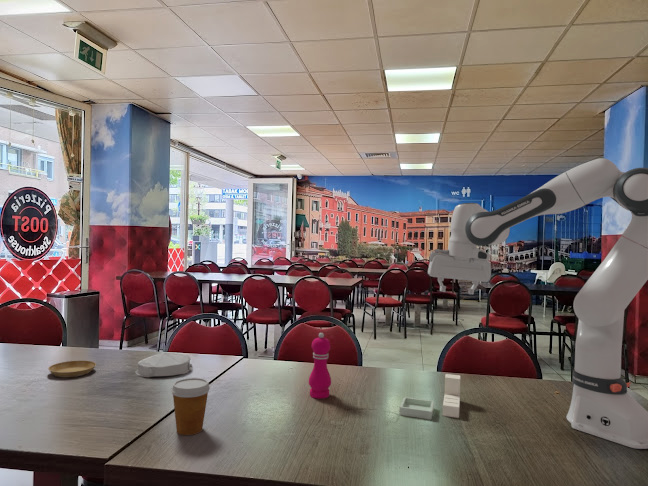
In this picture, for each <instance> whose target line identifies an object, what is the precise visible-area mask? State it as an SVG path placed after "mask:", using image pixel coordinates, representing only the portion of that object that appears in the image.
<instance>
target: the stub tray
mask: <svg viewBox="0 0 648 486" xmlns="http://www.w3.org/2000/svg"><path fill="white" fill-rule="evenodd" d="M434 409H435V401H434V400H430V399H429V400H428V399H424V398H423V399H421V398H415V397H407V396H403V399H402V400H401V403H400V405H399V409H398V410H399V414H398V415H399V416H405V417H412V418H418V419H424V420H432V419H433V415H434V414H433V413H434Z"/></svg>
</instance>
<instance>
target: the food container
mask: <svg viewBox="0 0 648 486" xmlns="http://www.w3.org/2000/svg"><path fill="white" fill-rule="evenodd" d="M190 361H191V357H190V355H189V354H187V353H179V352H161V353H160V352H159V353H157V354H154V355H151V356H148V357H145V358H143V359H141V360H139V361H138V362H137V369H136V370H135V374H136V375H137V376H139V377H144V378H153V377H154V378H155V377H171V376H177V375H184V374H189V371H191V370H193V368H194V367H193V364H192V363H191V362H190Z"/></svg>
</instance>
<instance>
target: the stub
mask: <svg viewBox="0 0 648 486" xmlns="http://www.w3.org/2000/svg"><path fill="white" fill-rule="evenodd" d="M444 376H445V377H444V394H449V395H457V396H460V397H461V375H459V374H450V373H445V375H444Z"/></svg>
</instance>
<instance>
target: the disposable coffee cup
mask: <svg viewBox="0 0 648 486" xmlns="http://www.w3.org/2000/svg"><path fill="white" fill-rule="evenodd" d="M210 389H211V385H210V383H209V381H208V380H207V379H205V378H201V377H200V378H199V377H189V378H188V377H187V378H181V379H179V380H175V381H174V382H173V384H172V387H171V389H170V391H171V394H172V398H173V406H174V407H173V408H174V409H173V410H174V416H175V417H174V418H175V419H174V420H175V425H176V426H175V428H176V429H175V430H176V434H178V435H182V436H191V435H192V436H193V435H197V434H199V433H201V432H202V430H203V427H204V423H205V414H206V408H207V401H208V396H209V394H208V393H209V392H210Z"/></svg>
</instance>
